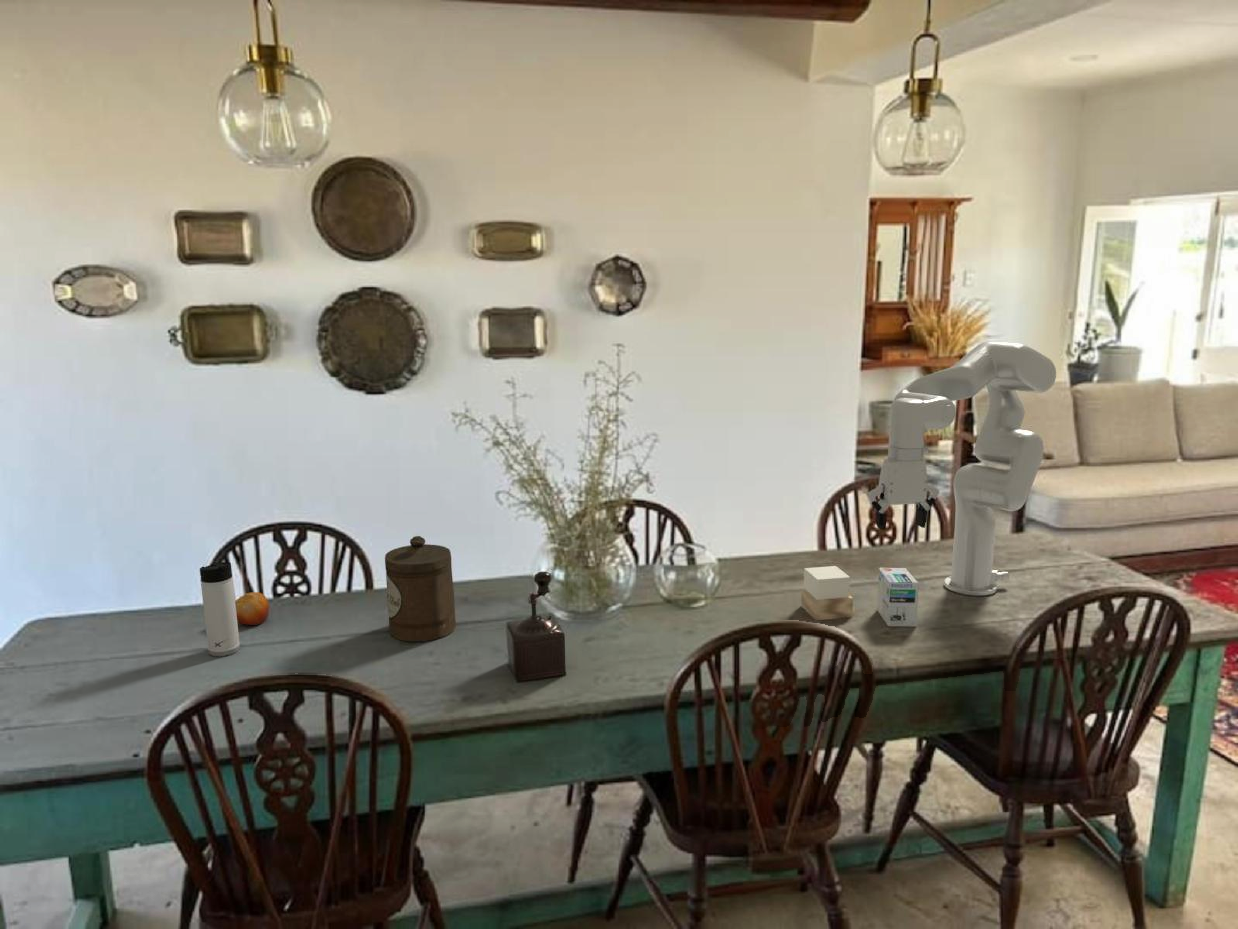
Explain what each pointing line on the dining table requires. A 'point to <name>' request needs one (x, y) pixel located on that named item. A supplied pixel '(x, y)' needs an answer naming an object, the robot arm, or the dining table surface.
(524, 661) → the manual coffee grinder
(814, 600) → the tower base
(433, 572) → the wooden container
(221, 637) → the travel mug
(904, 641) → the dining table surface
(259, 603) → the fruit
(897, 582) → the light bulb box
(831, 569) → the tower top
